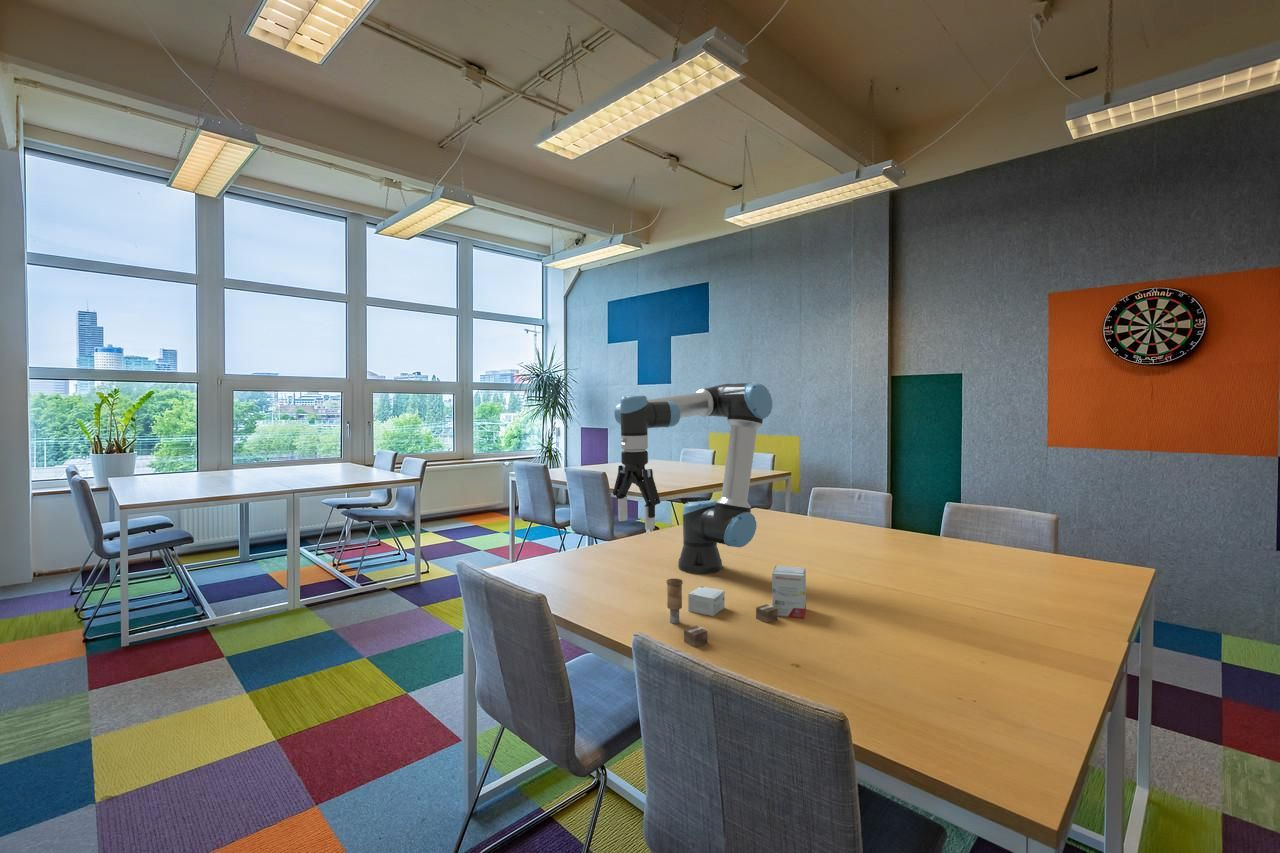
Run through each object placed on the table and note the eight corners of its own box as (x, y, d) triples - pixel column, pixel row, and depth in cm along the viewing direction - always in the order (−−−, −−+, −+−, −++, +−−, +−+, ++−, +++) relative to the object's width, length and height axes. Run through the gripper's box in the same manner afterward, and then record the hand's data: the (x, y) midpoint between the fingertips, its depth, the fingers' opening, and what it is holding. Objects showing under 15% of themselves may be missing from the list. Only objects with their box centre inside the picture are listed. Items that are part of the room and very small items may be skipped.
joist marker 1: (696, 637, 143) (696, 625, 142) (707, 643, 139) (707, 630, 139) (683, 641, 140) (683, 628, 140) (694, 647, 137) (694, 634, 137)
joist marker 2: (766, 615, 157) (766, 603, 157) (777, 619, 154) (777, 607, 154) (755, 618, 155) (755, 606, 155) (767, 623, 151) (767, 611, 151)
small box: (713, 617, 156) (713, 598, 156) (687, 611, 161) (687, 593, 160) (725, 608, 163) (725, 590, 163) (700, 603, 167) (700, 585, 167)
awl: (675, 617, 156) (675, 577, 155) (685, 622, 152) (685, 581, 152) (663, 621, 153) (663, 580, 153) (673, 626, 150) (673, 584, 149)
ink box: (806, 608, 162) (806, 566, 162) (804, 619, 154) (804, 575, 153) (774, 604, 165) (775, 563, 164) (771, 615, 157) (771, 572, 156)
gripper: (600, 448, 171) (602, 519, 173) (649, 454, 151) (650, 535, 152) (621, 446, 176) (623, 515, 177) (672, 452, 155) (673, 530, 156)
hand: (636, 524), depth 165 cm, fingers open, 13 cm apart
